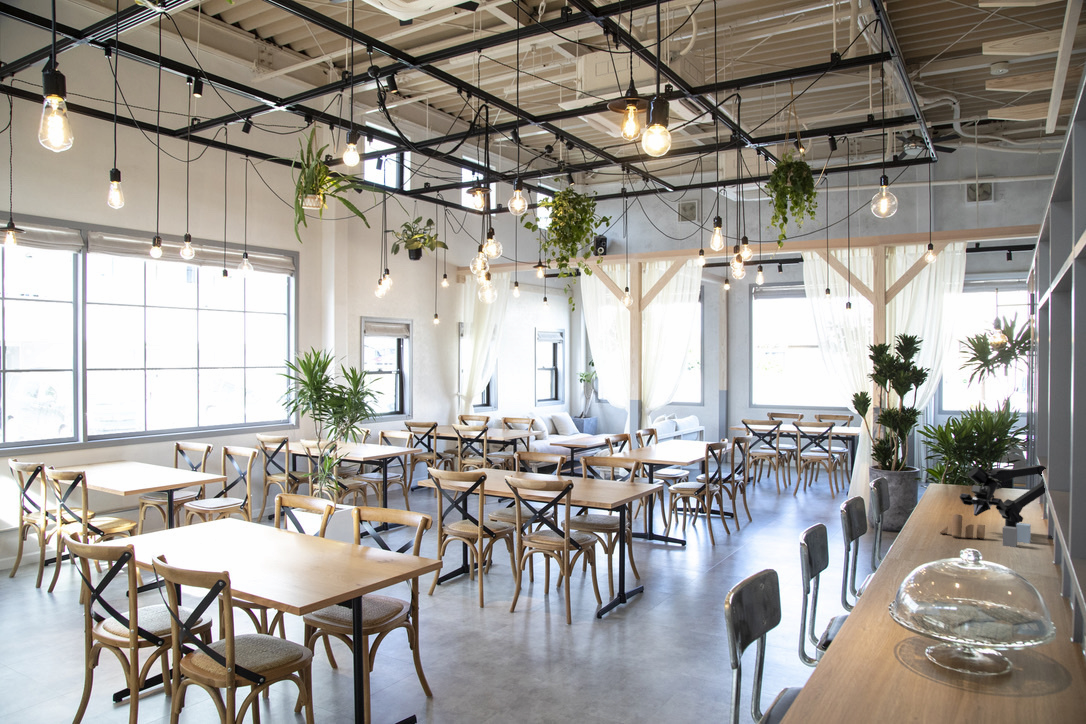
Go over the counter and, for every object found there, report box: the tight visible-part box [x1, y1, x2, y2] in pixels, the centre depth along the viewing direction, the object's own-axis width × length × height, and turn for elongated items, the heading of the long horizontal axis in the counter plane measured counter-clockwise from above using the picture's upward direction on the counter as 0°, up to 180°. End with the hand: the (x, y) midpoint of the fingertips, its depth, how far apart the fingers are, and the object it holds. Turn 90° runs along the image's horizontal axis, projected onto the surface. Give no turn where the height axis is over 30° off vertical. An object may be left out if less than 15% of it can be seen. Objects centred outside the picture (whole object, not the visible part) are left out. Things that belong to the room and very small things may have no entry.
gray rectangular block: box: [1002, 525, 1018, 548], centre depth 321 cm, size 5×5×8 cm
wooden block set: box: [939, 513, 986, 540], centre depth 337 cm, size 18×9×10 cm, turn 59°
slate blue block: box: [1016, 522, 1032, 544], centre depth 329 cm, size 5×5×8 cm
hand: (975, 515), depth 341 cm, fingers closed
